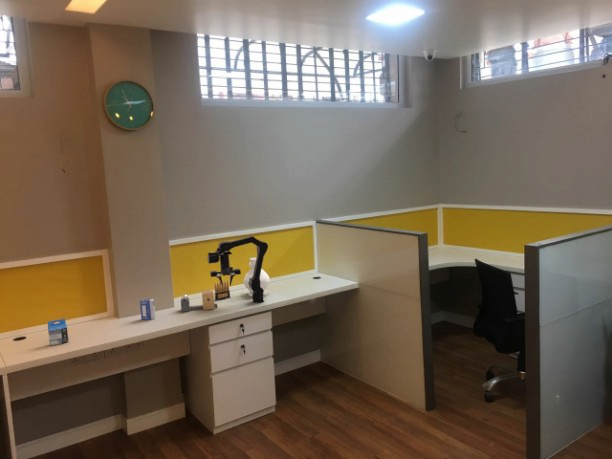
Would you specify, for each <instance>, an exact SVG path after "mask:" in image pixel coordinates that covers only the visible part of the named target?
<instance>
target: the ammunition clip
mask: <svg viewBox="0 0 612 459" xmlns="http://www.w3.org/2000/svg"><path fill="white" fill-rule="evenodd" d="M222 283H223V287H222V285H221V282H220V281H217V283H216V282H214V301H216V302H217V301H222V300H226V299H230V298H231V292H230V283H229V280H226V281H223V280H222Z"/></svg>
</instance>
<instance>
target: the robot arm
mask: <svg viewBox="0 0 612 459" xmlns="http://www.w3.org/2000/svg"><path fill="white" fill-rule="evenodd" d="M248 244H252V245H254V246H256V257H257V258H256V263H255V268H254V273H253V277H252V278H249V283H248V284H249V287H250V288H251V289H252V291H254V292H253V294H252V296H251V297H252V298H251V300H252V302H253V303H255V304H257V303H264V302H265V300H264V296H263V292H264V290H263V289H262V288H261V287H260V273H261V269H263V268H262V267H263V265H262V263H263V262H264V257H265V255H266V254H267V252H268V250H269V244H268V243H267V242H265V241H263V240H259V239H257V238H255V236H252V235H249V236H246V237H243V238H239V239H235V240H230V241H229V240H227V241H226V240H225V241H220V242H219V243H218V246H217V249H216V250H215V252H208V253H207V262H208V264H210V265H211V264H216V263H219V262H220V264H219V265H220V266H219V267H220V271H217V270H210V272H209V273H210V274H209V275H210V277H211V278H215V277H216V278H217V279H218V280H219V283H220V282H221V287H223V284H224V282H223V283H222V281H223V279H222V276H229V287H230V286H232V283H233V279H234V277H236V276H237V275H241V274H242V271H241V269H240V268H234V266H230V265H231V264H230V255H232V254H233V253H232V251H230V250H232V249H234V248H236V247H240V246H244V245H248ZM221 275H222V276H221Z"/></svg>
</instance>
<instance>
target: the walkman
mask: <svg viewBox="0 0 612 459" xmlns="http://www.w3.org/2000/svg"><path fill="white" fill-rule="evenodd" d="M139 305H140V307H139V308H140V317H141V318H140V319H141V320H142V321H149V320H155V319H156V318H157V316H156V307H155V299H154V298H152V299H151V298H150V299H140V300H139Z"/></svg>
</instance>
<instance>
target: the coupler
mask: <svg viewBox="0 0 612 459" xmlns="http://www.w3.org/2000/svg"><path fill="white" fill-rule="evenodd" d="M214 306H215V309H218V303H214ZM180 307H181V309H180V310H181V313H190V312H191V311H199V310H203V304H198V305H197V304H196V305H190V298H189V297H188V295H187V294H183V295H182V296H181V298H180Z"/></svg>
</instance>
